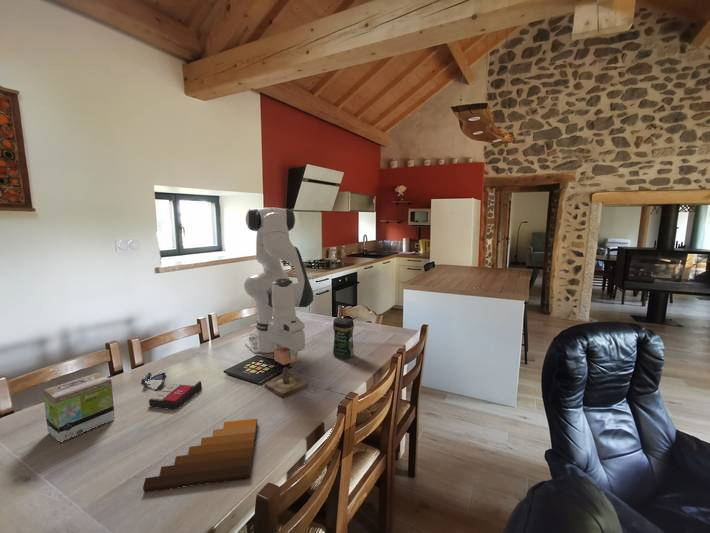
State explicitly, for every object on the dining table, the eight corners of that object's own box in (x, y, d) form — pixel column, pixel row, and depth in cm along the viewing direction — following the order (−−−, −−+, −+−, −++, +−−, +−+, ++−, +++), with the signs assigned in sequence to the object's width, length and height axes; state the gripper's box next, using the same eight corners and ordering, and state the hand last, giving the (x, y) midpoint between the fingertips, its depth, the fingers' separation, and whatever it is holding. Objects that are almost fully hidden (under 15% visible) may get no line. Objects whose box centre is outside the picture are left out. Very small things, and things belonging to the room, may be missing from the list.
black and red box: (147, 398, 125) (176, 377, 139) (149, 409, 126) (177, 387, 140) (175, 401, 123) (201, 379, 137) (176, 412, 124) (202, 389, 138)
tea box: (60, 444, 105) (54, 398, 103) (47, 433, 110) (41, 389, 108) (116, 419, 118) (111, 378, 116) (102, 411, 123) (97, 370, 121)
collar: (274, 360, 138) (273, 349, 138) (288, 355, 143) (287, 345, 142) (283, 365, 134) (283, 353, 133) (297, 359, 138) (297, 349, 138)
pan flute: (143, 495, 87) (249, 481, 91) (142, 483, 86) (248, 469, 91) (175, 434, 111) (257, 425, 116) (174, 424, 111) (257, 415, 115)
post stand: (264, 386, 140) (264, 367, 139) (290, 376, 148) (289, 358, 147) (282, 397, 132) (281, 377, 130) (308, 386, 140) (307, 367, 139)
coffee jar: (330, 356, 169) (330, 319, 166) (339, 351, 176) (338, 314, 173) (348, 360, 165) (348, 322, 162) (356, 354, 171) (356, 317, 169)
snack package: (132, 393, 136) (164, 390, 138) (131, 376, 136) (163, 373, 138) (146, 383, 148) (175, 381, 149) (145, 368, 148) (175, 365, 150)
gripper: (262, 318, 141) (264, 351, 143) (293, 329, 127) (294, 365, 129) (276, 314, 145) (277, 347, 147) (307, 325, 131) (308, 360, 133)
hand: (285, 356), depth 138 cm, fingers closed on collar, 6 cm apart
